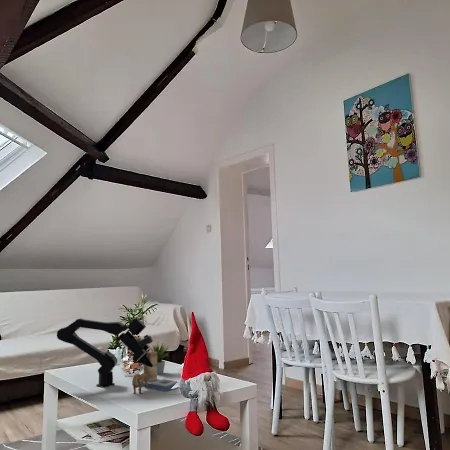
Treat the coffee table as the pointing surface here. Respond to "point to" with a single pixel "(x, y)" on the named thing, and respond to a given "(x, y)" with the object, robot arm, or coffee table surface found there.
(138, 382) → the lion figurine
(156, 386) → the blueprint board
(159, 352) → the house plant
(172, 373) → the coffee table surface
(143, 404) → the coffee table surface
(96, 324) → the robot arm
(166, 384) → the grey socket
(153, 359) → the oak pillar
